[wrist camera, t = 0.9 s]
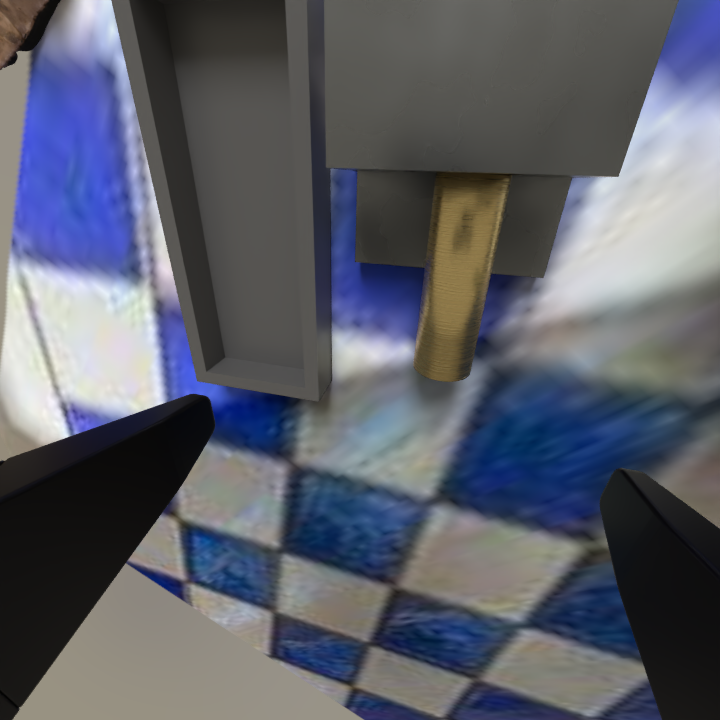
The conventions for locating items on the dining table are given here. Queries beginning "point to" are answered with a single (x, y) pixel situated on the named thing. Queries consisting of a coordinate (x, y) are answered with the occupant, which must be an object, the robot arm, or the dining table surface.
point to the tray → (240, 180)
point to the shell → (22, 26)
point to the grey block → (482, 109)
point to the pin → (458, 270)
